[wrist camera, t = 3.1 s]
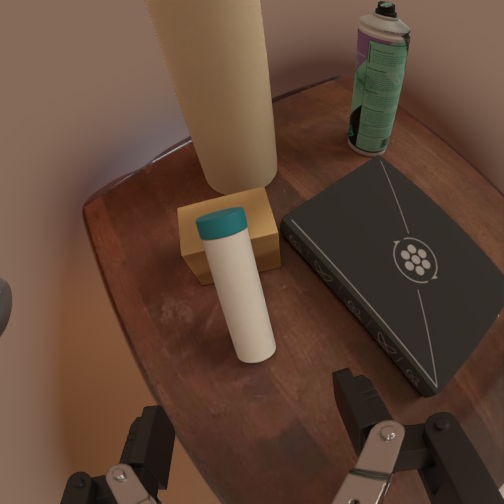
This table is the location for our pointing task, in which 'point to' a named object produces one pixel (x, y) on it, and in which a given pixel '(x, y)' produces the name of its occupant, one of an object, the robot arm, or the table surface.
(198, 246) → the prop block
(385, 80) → the spray can
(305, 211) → the book
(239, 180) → the pedestal
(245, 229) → the vial
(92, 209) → the table surface
